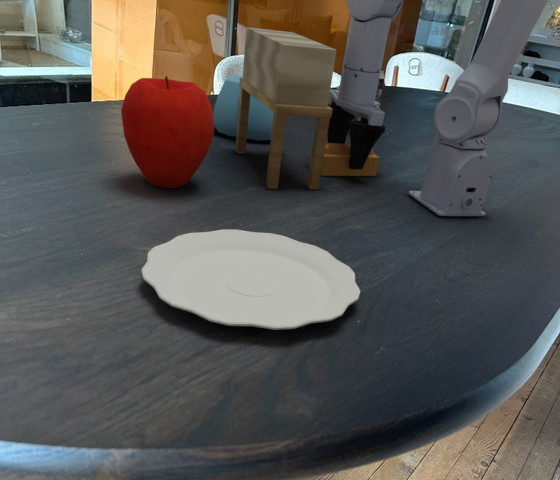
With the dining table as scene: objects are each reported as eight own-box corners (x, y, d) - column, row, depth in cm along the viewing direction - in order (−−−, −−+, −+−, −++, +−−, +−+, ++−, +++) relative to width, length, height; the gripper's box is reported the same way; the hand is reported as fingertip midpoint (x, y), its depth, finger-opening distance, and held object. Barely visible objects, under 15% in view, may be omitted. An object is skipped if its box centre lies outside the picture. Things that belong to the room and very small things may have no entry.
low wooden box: (376, 176, 97) (381, 149, 94) (321, 175, 93) (326, 147, 90) (361, 166, 100) (366, 140, 98) (308, 166, 96) (312, 138, 94)
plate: (342, 254, 68) (344, 240, 67) (370, 352, 51) (375, 336, 50) (159, 235, 66) (159, 220, 65) (125, 331, 49) (124, 313, 48)
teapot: (295, 69, 111) (281, 82, 96) (287, 128, 117) (273, 149, 102) (230, 58, 112) (206, 70, 97) (226, 118, 118) (203, 138, 103)
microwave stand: (322, 190, 87) (344, 51, 76) (268, 189, 84) (284, 45, 74) (281, 152, 101) (295, 32, 91) (234, 150, 99) (243, 26, 88)
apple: (199, 170, 87) (203, 70, 80) (221, 197, 78) (229, 88, 71) (117, 169, 83) (114, 64, 75) (131, 198, 74) (129, 82, 67)
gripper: (409, 80, 84) (388, 175, 92) (361, 62, 95) (346, 149, 102) (367, 77, 81) (349, 175, 89) (322, 59, 92) (309, 148, 100)
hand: (344, 161), depth 96 cm, fingers open, 7 cm apart
